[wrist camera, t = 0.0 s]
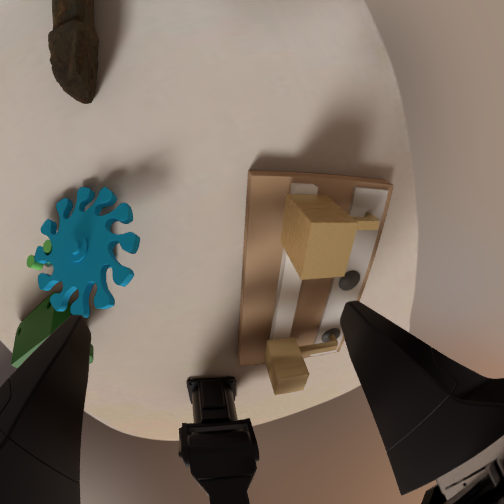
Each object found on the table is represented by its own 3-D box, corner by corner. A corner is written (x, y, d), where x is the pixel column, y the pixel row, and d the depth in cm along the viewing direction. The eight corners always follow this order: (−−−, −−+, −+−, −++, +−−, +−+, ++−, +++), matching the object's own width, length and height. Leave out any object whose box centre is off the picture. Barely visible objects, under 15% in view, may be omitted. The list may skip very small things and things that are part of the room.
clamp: (61, 319, 30) (45, 380, 25) (28, 298, 26) (7, 363, 21) (109, 317, 26) (90, 399, 20) (65, 289, 21) (38, 380, 16)
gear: (136, 170, 18) (132, 317, 16) (161, 202, 24) (163, 317, 21) (30, 197, 18) (20, 315, 16) (66, 219, 24) (62, 318, 21)
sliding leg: (366, 236, 24) (400, 270, 19) (278, 238, 22) (300, 279, 18) (376, 195, 22) (416, 224, 17) (284, 191, 20) (311, 222, 16)
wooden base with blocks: (335, 343, 35) (357, 387, 28) (237, 356, 32) (248, 408, 26) (384, 179, 24) (437, 212, 17) (248, 170, 21) (272, 205, 15)
